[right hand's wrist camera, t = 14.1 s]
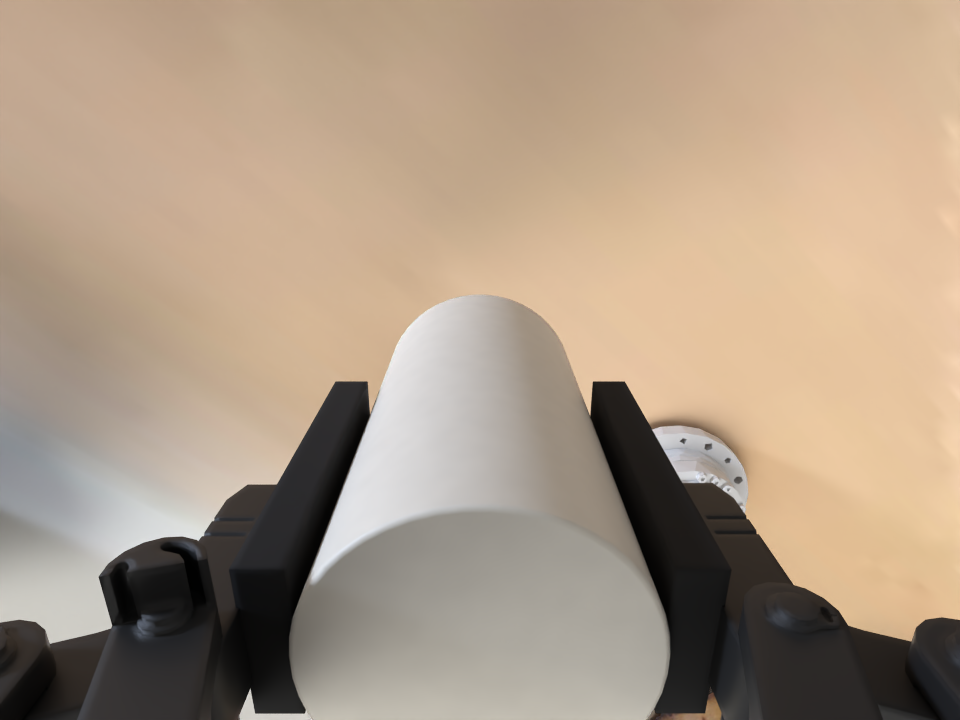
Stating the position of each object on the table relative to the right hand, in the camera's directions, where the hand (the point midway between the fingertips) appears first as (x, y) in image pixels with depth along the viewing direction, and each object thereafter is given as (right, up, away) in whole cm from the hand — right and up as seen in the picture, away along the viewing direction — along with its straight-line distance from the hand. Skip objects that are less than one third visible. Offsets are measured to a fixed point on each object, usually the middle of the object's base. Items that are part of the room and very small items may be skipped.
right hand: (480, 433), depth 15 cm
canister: (0, +1, +3) cm, 4 cm away
